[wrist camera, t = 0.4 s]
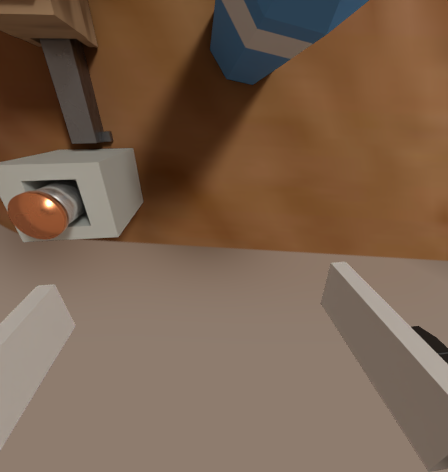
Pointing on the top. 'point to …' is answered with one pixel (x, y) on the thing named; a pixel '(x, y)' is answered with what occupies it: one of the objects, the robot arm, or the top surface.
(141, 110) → the top surface
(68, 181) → the plunger
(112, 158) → the white box
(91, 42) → the block
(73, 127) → the rail
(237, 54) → the water bottle
